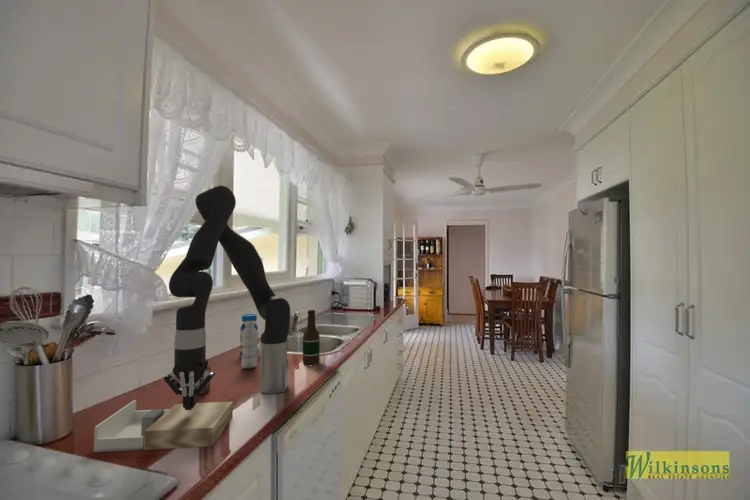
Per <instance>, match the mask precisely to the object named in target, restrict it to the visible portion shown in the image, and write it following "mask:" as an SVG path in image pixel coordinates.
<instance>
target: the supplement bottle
mask: <svg viewBox="0 0 750 500" xmlns="http://www.w3.org/2000/svg"><path fill="white" fill-rule="evenodd" d="M205 363H206V366H207V370H209V371H210V372H211V365H210V364H209V360H208V358H206V360H205ZM211 373H212V372H211ZM204 380H205V379H204V374H203V376H202V377H201V378H200V379H199V382H198V386H197V388H198V387H199V386H200V385H201V384H202V382H203V381H204ZM210 390H211V381H210V382H209V383H208V384H207V386H206V387H205V388H204V389H203V390H202V391H201V392H200V393H199V394H196V396H198V395H199V396H200V395H203V394H204V395H205V394H207V393H208V392H210Z"/></svg>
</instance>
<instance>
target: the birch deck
mask: <svg viewBox="0 0 750 500" xmlns="http://www.w3.org/2000/svg"><path fill="white" fill-rule="evenodd" d="M233 406H234V402H233V401H217V402H215V401H213V402H196V405H195V406H194V407H193V409H192V410H185V408H183V403H175V404H174V405H173V406H171V407H170V408H168V409H169V410H168V411H167V412H166V413H165V414H164V415H163V416H161V417H160V418H159V419H158V420H157V421H156V422H155V423H154V424H152V425H151V426H150V427H149V428H148V429H147V430H146V431H145V448H144V450H163V449H165V450H166V449H179V448H180V449H182V448H184V447H186V448H202V447H203V448H204V447H214V445H215V444H214V443H216V442H217V441H218V439H219V438H220V437H221V434H222V433H223V431H225V429H226V427H227V426H228V424H229V423H230V421H231V420H232V419H233V411H234V410H233ZM184 449H185V448H184Z"/></svg>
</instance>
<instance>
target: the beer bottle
mask: <svg viewBox="0 0 750 500" xmlns="http://www.w3.org/2000/svg"><path fill="white" fill-rule="evenodd" d="M316 313H317V312H316V310H315V309H308V310H307V325H306V328H305V330H304V332H303V335H302V364H305V365H314V364H318V363H319V364H320V345H321V344H320V343H321V341H320V340H321V339H320V333H319V331H318V329H317V326H316ZM319 364H318V365H319ZM305 365H304V366H305Z"/></svg>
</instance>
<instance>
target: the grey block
mask: <svg viewBox="0 0 750 500" xmlns="http://www.w3.org/2000/svg"><path fill="white" fill-rule="evenodd" d="M150 410H151V411H150V412H148V413H147V414H146V415H145V416H143V417H142V428H141V436H144V437H145V431H146V430H147V429H148V428H149V427H150V426H151V425H152V424H154V423H155V422H156V421H157V420H158V419H159V418H160V417H161V416H163V415H164V408H155V409H150Z"/></svg>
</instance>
